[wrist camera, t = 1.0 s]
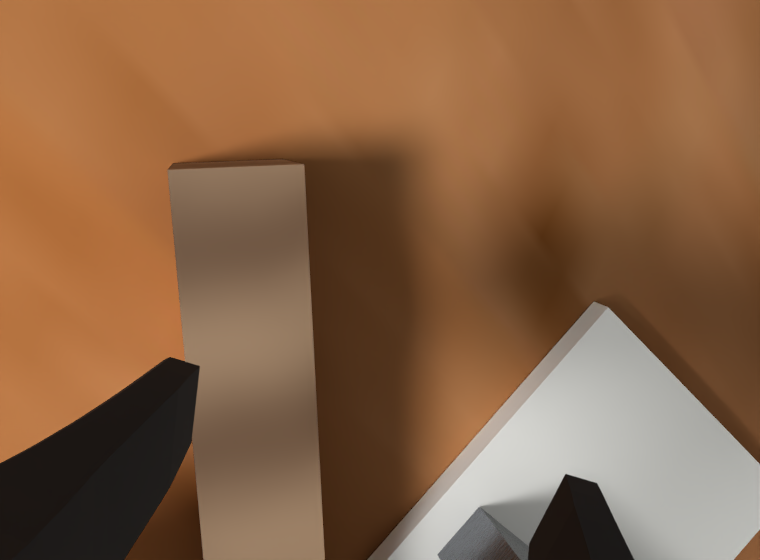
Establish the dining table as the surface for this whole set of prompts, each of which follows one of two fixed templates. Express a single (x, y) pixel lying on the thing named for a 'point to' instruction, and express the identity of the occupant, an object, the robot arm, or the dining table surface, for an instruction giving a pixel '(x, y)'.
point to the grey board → (598, 456)
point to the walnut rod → (250, 356)
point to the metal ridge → (484, 541)
